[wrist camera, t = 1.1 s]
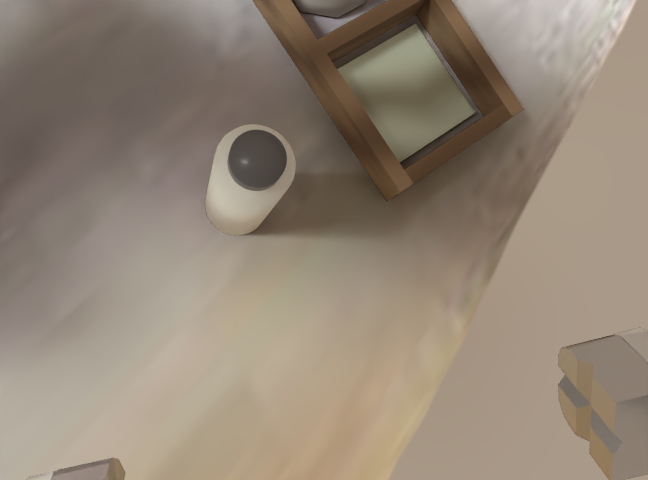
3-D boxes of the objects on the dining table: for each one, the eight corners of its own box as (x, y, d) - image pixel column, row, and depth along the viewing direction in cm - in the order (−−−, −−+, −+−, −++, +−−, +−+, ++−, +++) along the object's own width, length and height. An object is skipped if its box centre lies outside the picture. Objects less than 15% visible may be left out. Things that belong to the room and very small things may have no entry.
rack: (213, -59, 45) (215, -85, 42) (342, -120, 49) (352, -148, 46) (386, 201, 45) (400, 192, 43) (503, 122, 49) (523, 109, 46)
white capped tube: (192, 195, 42) (198, 143, 30) (244, 164, 43) (269, 101, 32) (227, 247, 42) (246, 215, 30) (278, 214, 43) (316, 171, 32)
